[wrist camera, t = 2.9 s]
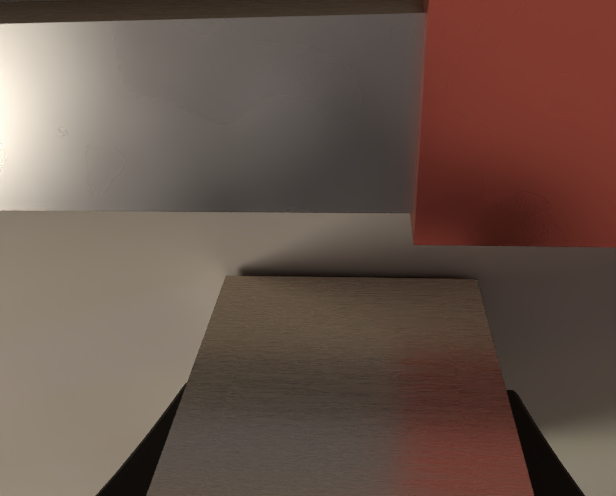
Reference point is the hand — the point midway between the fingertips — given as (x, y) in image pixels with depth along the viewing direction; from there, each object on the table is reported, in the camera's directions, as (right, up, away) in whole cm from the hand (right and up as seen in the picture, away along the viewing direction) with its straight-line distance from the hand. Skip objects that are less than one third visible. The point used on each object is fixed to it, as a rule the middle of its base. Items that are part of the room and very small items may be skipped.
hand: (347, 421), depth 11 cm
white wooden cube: (0, +1, +1) cm, 1 cm away
